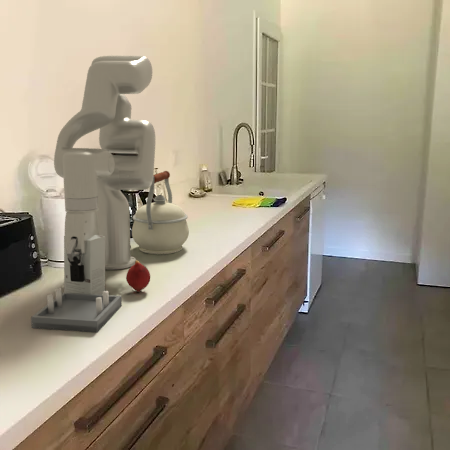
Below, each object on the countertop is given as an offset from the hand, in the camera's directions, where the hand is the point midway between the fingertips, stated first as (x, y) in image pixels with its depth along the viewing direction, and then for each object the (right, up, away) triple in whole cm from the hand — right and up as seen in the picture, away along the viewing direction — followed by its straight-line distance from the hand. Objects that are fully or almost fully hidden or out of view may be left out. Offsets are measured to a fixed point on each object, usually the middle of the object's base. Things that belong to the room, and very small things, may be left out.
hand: (85, 275), depth 125 cm
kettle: (+13, +4, +46) cm, 48 cm away
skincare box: (0, -5, +1) cm, 5 cm away
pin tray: (+2, -8, -13) cm, 15 cm away
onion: (+12, -5, +3) cm, 14 cm away
